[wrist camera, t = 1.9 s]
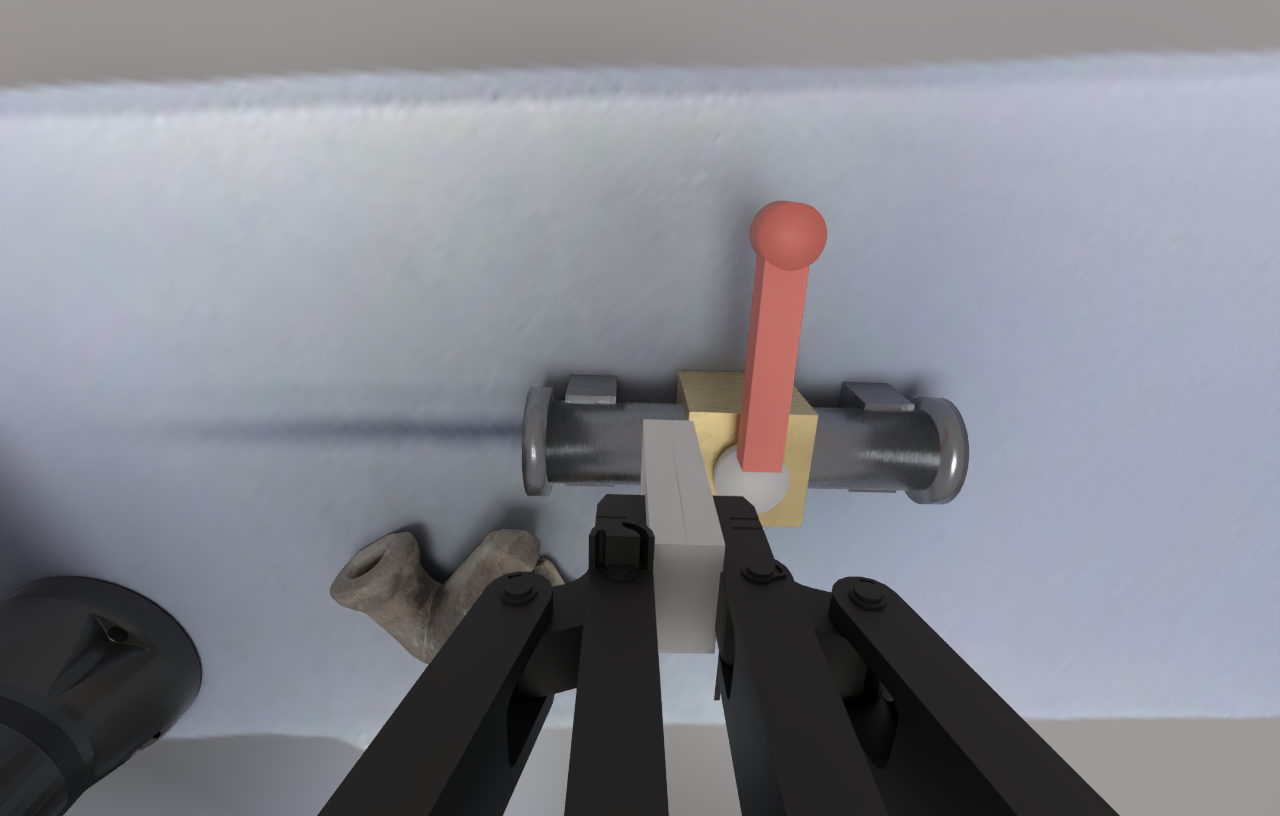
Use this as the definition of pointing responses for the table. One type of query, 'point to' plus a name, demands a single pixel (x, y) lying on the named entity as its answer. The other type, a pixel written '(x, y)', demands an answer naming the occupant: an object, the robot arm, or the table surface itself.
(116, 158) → the table surface
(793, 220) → the lever
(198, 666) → the robot arm
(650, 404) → the valve pipe
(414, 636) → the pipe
